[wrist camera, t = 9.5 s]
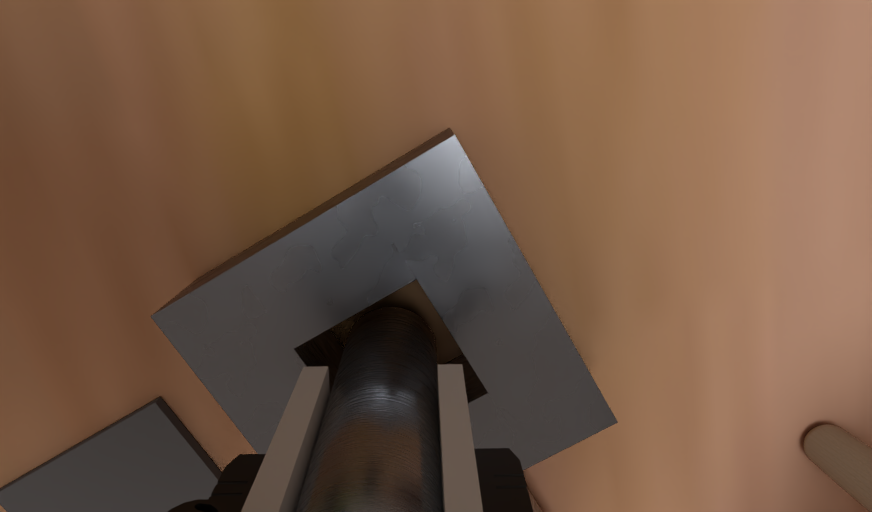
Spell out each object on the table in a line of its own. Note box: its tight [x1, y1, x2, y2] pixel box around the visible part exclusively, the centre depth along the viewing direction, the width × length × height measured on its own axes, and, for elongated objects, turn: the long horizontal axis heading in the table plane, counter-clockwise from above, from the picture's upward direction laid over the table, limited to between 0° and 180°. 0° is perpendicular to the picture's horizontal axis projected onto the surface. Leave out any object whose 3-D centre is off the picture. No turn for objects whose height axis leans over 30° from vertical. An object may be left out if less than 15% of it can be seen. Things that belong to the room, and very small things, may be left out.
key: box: [295, 307, 443, 512], centre depth 15 cm, size 3×6×14 cm, turn 0°
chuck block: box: [151, 128, 617, 512], centre depth 23 cm, size 21×12×4 cm, turn 30°
